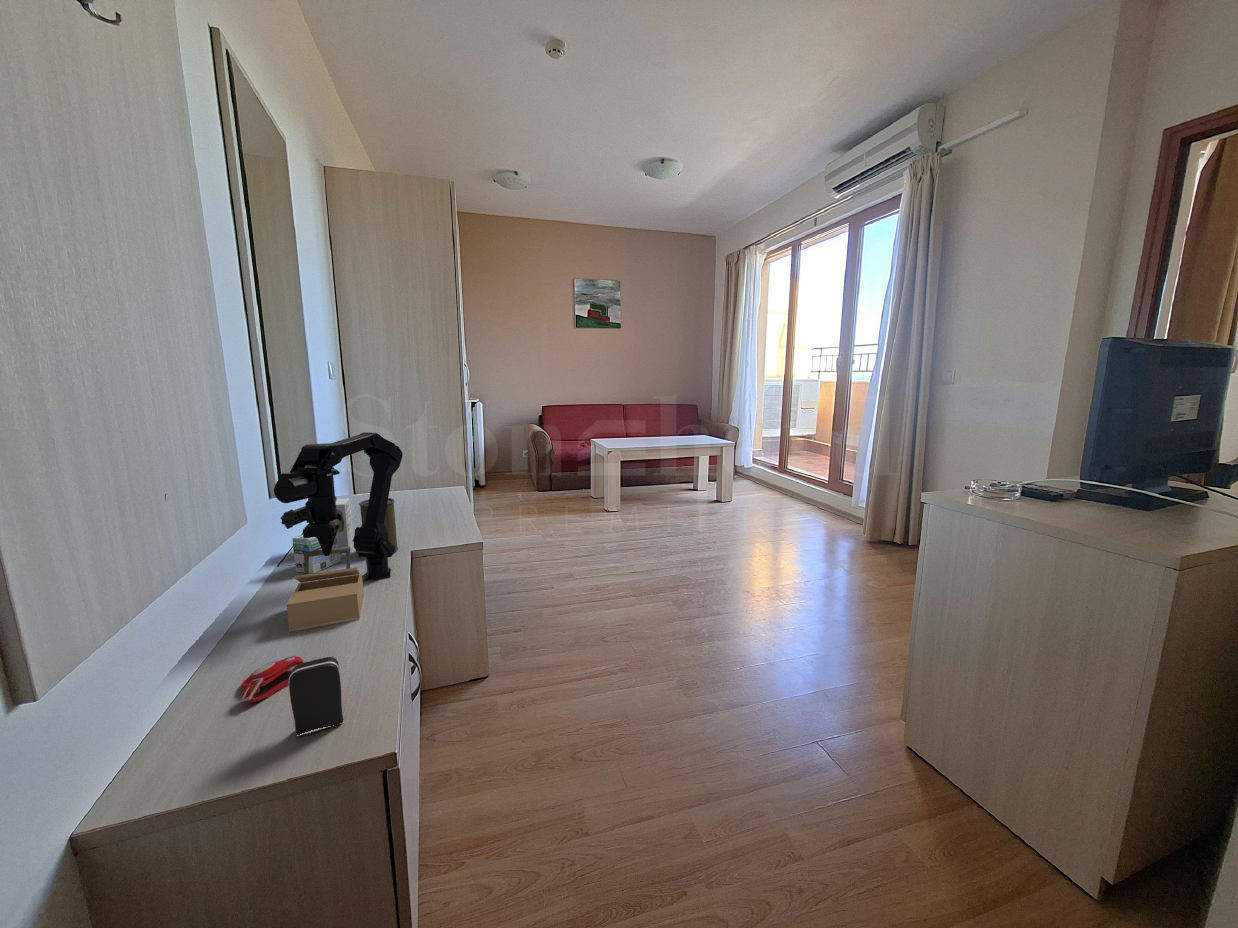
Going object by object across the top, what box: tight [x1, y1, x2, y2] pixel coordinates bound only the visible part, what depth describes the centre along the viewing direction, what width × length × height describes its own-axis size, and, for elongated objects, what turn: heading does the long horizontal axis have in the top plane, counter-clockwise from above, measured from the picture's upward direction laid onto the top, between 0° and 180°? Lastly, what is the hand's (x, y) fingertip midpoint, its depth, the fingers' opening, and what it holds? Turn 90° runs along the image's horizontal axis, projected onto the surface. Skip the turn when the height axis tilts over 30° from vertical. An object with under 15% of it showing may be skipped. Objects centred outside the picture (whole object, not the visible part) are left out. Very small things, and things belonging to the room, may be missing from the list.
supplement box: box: [333, 497, 354, 550], centre depth 156 cm, size 10×9×17 cm
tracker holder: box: [238, 655, 305, 703], centre depth 87 cm, size 12×4×10 cm
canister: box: [358, 497, 399, 552], centre depth 155 cm, size 11×10×20 cm
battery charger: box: [288, 656, 345, 736], centre depth 76 cm, size 7×4×11 cm, turn 120°
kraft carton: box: [285, 573, 365, 633], centre depth 114 cm, size 14×14×7 cm
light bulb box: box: [291, 532, 341, 574], centre depth 142 cm, size 11×7×11 cm, turn 168°
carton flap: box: [294, 546, 361, 583], centre depth 118 cm, size 6×13×7 cm
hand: (327, 555), depth 117 cm, fingers closed
